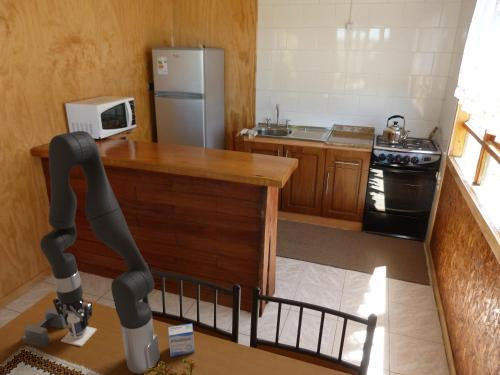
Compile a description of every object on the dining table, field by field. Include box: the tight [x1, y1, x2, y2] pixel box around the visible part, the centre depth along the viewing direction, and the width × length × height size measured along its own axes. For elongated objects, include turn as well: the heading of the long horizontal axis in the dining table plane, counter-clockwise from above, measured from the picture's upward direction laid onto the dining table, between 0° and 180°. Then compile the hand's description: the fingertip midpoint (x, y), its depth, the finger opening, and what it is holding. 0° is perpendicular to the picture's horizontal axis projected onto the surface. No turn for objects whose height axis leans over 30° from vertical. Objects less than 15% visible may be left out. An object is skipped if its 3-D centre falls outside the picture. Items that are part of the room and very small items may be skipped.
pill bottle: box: [67, 309, 88, 338], centre depth 127 cm, size 5×5×10 cm
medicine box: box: [167, 323, 196, 357], centre depth 122 cm, size 8×4×9 cm, turn 104°
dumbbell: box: [21, 306, 68, 349], centre depth 131 cm, size 9×14×6 cm, turn 164°
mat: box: [60, 326, 98, 347], centre depth 129 cm, size 8×8×1 cm
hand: (77, 325), depth 128 cm, fingers open, 5 cm apart
